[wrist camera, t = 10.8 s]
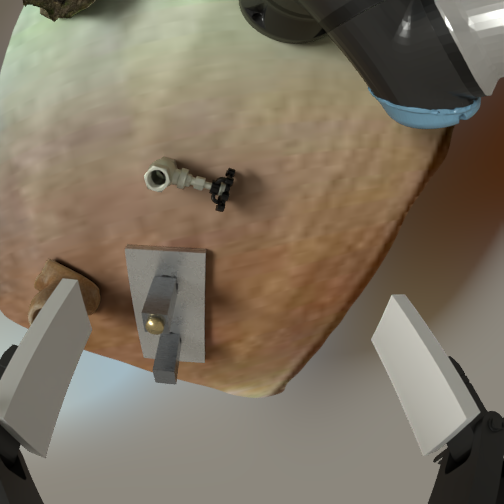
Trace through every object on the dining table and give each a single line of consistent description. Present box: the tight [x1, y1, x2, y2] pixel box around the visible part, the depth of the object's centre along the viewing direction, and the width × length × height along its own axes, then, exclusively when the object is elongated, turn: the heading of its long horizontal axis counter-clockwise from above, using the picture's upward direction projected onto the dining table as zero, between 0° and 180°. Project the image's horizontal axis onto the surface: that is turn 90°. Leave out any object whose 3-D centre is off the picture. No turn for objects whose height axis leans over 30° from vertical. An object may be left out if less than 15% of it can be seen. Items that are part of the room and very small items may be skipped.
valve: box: [144, 157, 235, 212], centre depth 40 cm, size 7×7×12 cm
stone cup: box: [28, 259, 101, 326], centre depth 43 cm, size 15×12×15 cm
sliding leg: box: [141, 276, 177, 335], centre depth 45 cm, size 4×4×11 cm
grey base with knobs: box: [125, 244, 206, 384], centre depth 50 cm, size 14×28×12 cm, turn 174°
